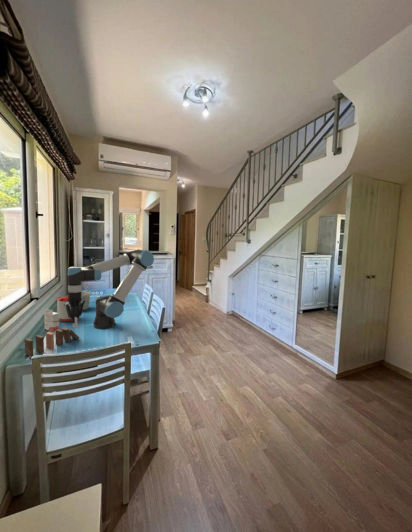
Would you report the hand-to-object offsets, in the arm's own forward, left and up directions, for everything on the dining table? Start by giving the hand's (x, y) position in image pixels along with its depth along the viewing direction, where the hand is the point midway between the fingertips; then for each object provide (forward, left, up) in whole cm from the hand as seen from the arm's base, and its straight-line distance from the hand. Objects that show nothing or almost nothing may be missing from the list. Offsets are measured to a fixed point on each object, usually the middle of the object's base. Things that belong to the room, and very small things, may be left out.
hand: (75, 327), depth 156 cm
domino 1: (+19, +19, -8) cm, 28 cm away
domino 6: (0, 0, -7) cm, 7 cm away
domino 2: (+15, +15, -8) cm, 23 cm away
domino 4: (+7, +7, -8) cm, 13 cm away
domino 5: (+3, +3, -7) cm, 9 cm away
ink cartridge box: (+19, -21, -8) cm, 29 cm away
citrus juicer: (+13, -42, -8) cm, 44 cm away
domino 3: (+11, +11, -8) cm, 17 cm away
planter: (+10, -66, -8) cm, 67 cm away
